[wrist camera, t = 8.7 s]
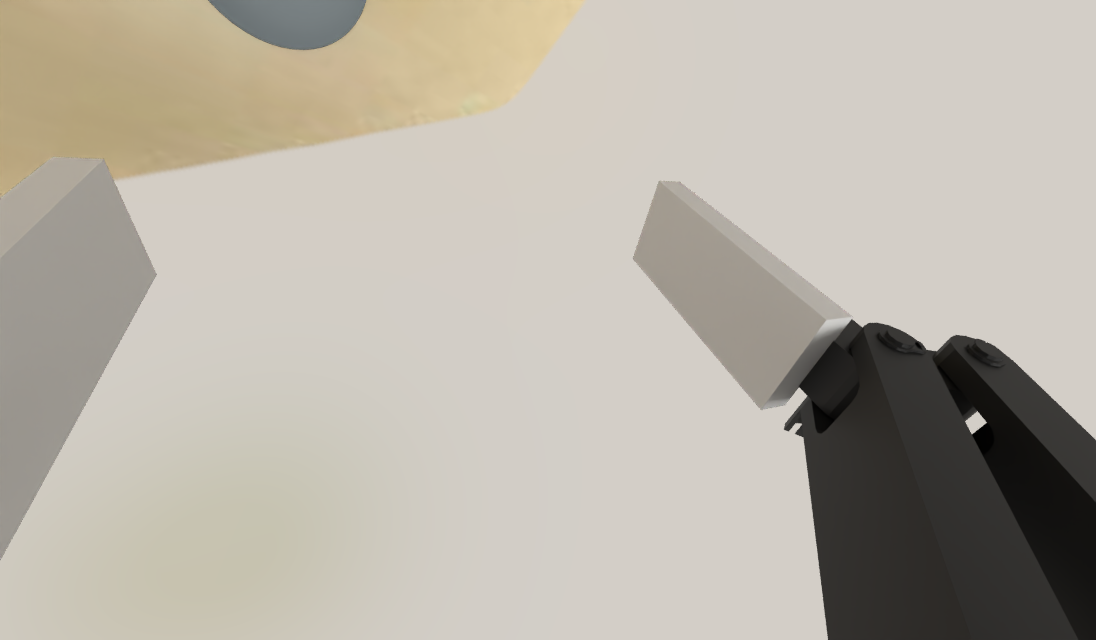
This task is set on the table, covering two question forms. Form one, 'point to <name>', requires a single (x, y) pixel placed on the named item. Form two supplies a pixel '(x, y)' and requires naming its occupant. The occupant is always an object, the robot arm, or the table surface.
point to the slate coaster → (293, 20)
